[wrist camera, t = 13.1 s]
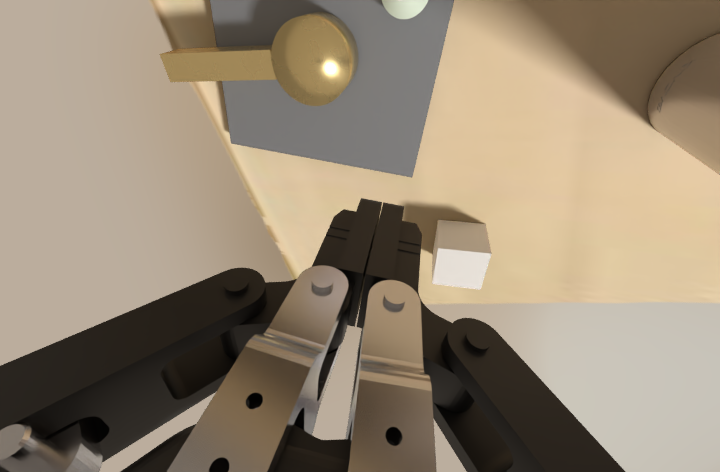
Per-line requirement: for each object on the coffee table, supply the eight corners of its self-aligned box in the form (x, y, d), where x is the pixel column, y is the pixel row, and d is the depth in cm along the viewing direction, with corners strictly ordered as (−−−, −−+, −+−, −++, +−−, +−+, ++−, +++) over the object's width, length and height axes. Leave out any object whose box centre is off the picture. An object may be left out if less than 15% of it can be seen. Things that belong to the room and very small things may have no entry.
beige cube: (432, 253, 47) (431, 283, 42) (438, 219, 43) (437, 248, 38) (476, 258, 46) (480, 289, 41) (485, 223, 42) (491, 253, 37)
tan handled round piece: (355, 9, 29) (345, 13, 26) (360, 94, 33) (352, 105, 30) (175, 20, 32) (147, 24, 29) (200, 96, 36) (178, 107, 33)
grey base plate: (473, -86, 25) (478, -96, 22) (413, 169, 39) (410, 188, 36) (205, -119, 27) (170, -134, 23) (238, 137, 41) (219, 152, 37)
